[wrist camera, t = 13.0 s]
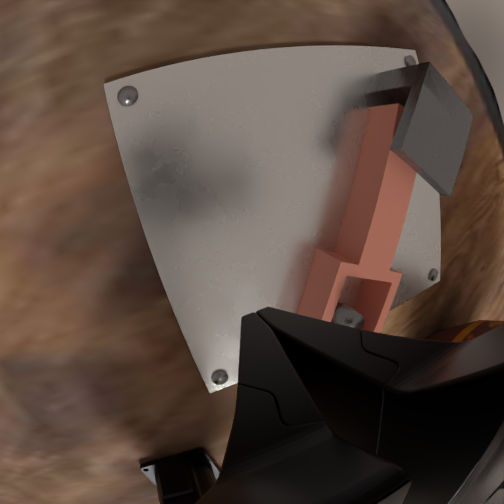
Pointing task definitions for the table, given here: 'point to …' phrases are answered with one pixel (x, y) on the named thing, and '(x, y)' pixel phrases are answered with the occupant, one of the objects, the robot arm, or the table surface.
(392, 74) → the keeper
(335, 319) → the cylinder
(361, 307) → the link
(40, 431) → the table surface
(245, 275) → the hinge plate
